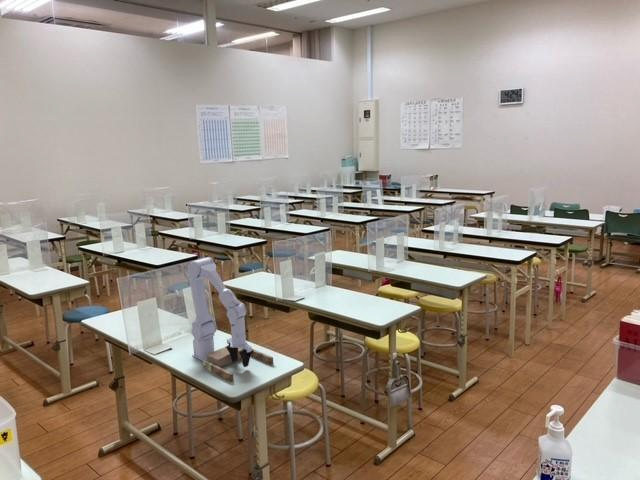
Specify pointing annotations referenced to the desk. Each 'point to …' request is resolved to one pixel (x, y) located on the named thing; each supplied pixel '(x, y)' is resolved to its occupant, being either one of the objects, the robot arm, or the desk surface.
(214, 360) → the brick
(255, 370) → the desk surface
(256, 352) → the lane
